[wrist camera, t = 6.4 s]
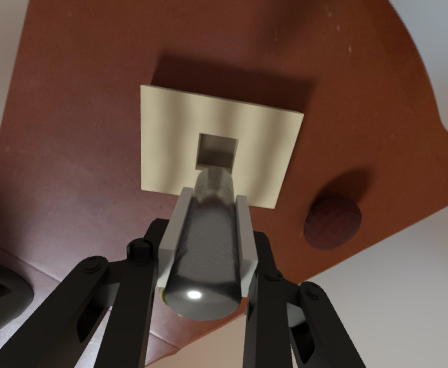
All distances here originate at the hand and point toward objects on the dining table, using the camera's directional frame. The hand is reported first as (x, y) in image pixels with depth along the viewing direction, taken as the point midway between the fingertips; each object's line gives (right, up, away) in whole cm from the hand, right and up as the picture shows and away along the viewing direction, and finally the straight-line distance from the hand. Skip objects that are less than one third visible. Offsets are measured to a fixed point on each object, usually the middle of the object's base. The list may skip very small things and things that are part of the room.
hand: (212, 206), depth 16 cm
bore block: (0, +7, +15) cm, 17 cm away
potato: (+18, -3, +20) cm, 28 cm away
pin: (0, +2, +4) cm, 4 cm away
